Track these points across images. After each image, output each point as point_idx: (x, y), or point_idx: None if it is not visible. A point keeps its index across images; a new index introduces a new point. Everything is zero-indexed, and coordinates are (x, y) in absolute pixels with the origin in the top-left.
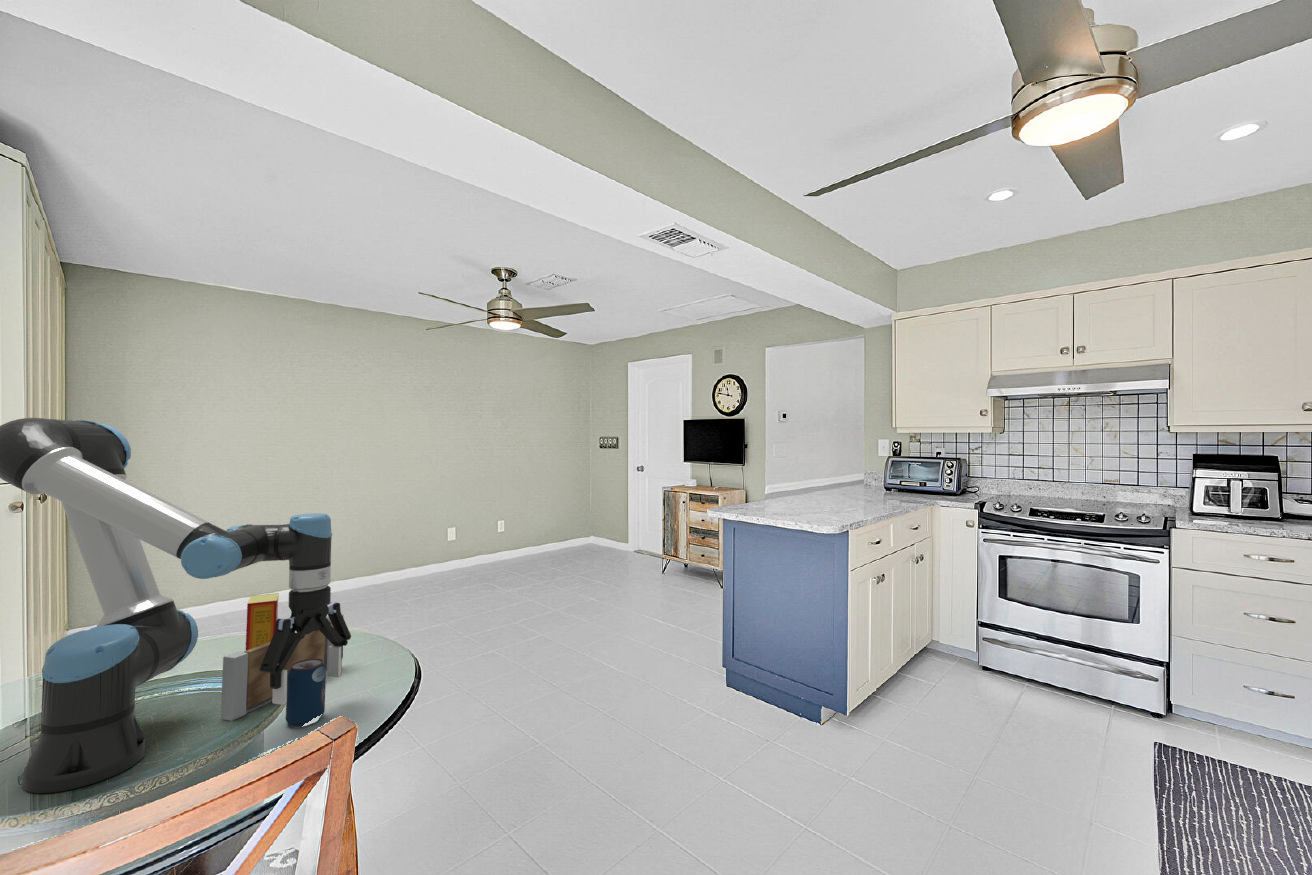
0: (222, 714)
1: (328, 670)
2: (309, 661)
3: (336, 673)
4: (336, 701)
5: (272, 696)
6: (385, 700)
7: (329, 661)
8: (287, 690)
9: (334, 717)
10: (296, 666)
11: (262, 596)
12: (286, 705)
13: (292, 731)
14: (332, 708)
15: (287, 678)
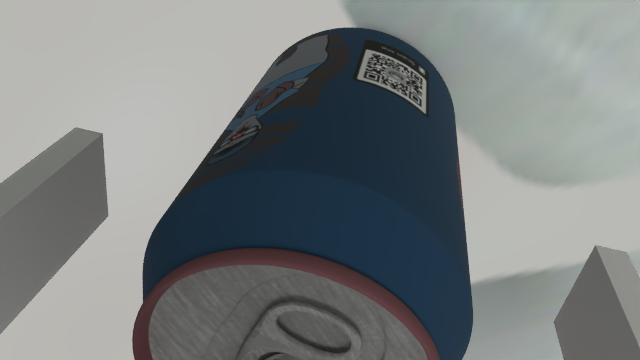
0: None
1: (609, 280)
2: (393, 346)
3: (568, 329)
4: (623, 140)
5: (45, 150)
6: None
7: (632, 355)
8: (206, 155)
9: None
10: (224, 300)
11: None
12: (249, 96)
13: None
14: (517, 167)
15: (174, 201)
